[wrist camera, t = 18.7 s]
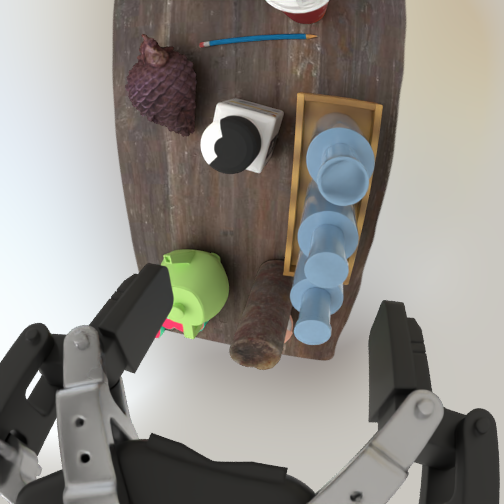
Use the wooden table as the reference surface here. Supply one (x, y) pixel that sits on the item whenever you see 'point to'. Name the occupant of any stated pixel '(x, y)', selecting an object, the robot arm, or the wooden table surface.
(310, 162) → the bottle
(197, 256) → the teapot
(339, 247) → the bottle mid
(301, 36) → the pencil
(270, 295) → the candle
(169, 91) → the pine cone
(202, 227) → the wooden table surface
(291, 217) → the tray
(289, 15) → the paper cup
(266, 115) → the container
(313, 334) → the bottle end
